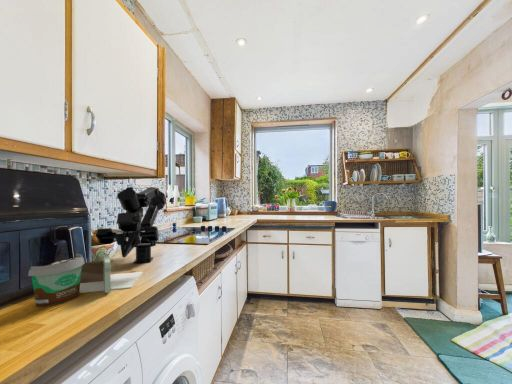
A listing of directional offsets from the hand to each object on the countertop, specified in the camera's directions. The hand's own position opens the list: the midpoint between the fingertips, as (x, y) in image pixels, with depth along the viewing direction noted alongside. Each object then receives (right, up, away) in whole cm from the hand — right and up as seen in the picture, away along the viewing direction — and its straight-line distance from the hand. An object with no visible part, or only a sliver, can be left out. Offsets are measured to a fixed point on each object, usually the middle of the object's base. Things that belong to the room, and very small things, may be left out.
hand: (123, 256), depth 74 cm
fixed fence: (-8, -7, -3) cm, 11 cm away
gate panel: (-1, -6, -7) cm, 10 cm away
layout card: (-4, -7, -3) cm, 9 cm away
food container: (-7, -7, -15) cm, 18 cm away
